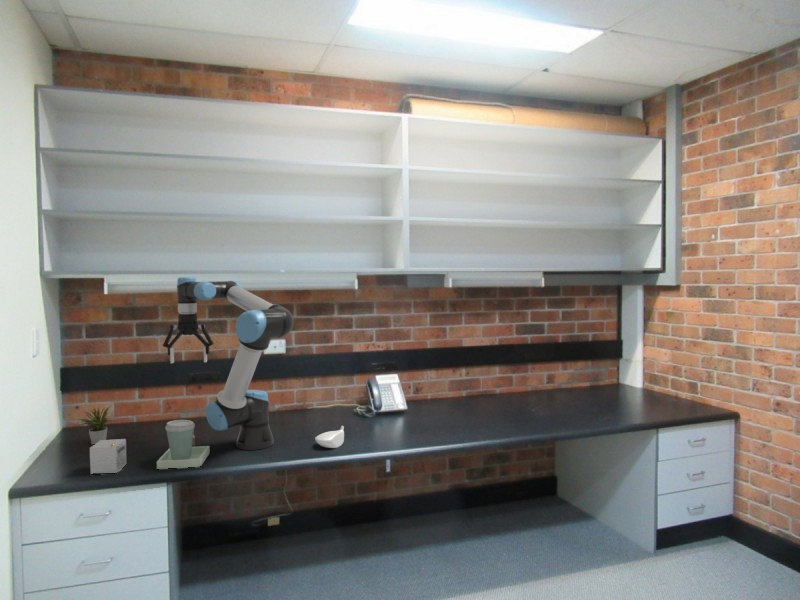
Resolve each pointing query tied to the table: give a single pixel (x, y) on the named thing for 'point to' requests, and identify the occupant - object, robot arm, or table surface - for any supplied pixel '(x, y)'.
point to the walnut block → (193, 441)
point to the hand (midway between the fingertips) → (189, 362)
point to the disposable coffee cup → (180, 438)
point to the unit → (108, 456)
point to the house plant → (97, 425)
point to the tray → (195, 459)
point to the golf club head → (331, 438)
